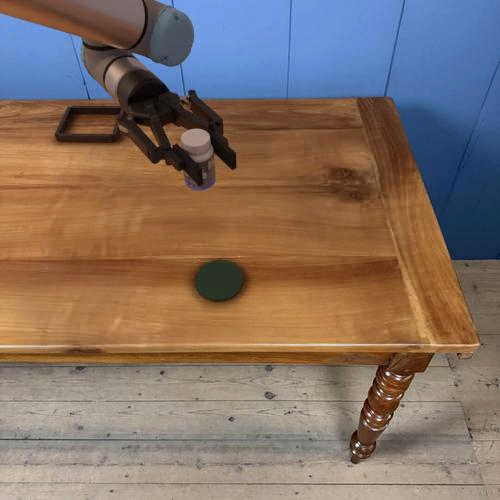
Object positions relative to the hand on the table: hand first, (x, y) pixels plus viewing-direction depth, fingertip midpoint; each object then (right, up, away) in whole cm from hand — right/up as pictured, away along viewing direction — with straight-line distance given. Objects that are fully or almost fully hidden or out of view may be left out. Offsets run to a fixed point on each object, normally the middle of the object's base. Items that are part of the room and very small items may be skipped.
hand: (217, 169), depth 62 cm
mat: (0, -16, +10) cm, 19 cm away
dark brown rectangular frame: (-29, +15, +36) cm, 48 cm away
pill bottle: (-3, -1, +8) cm, 8 cm away
